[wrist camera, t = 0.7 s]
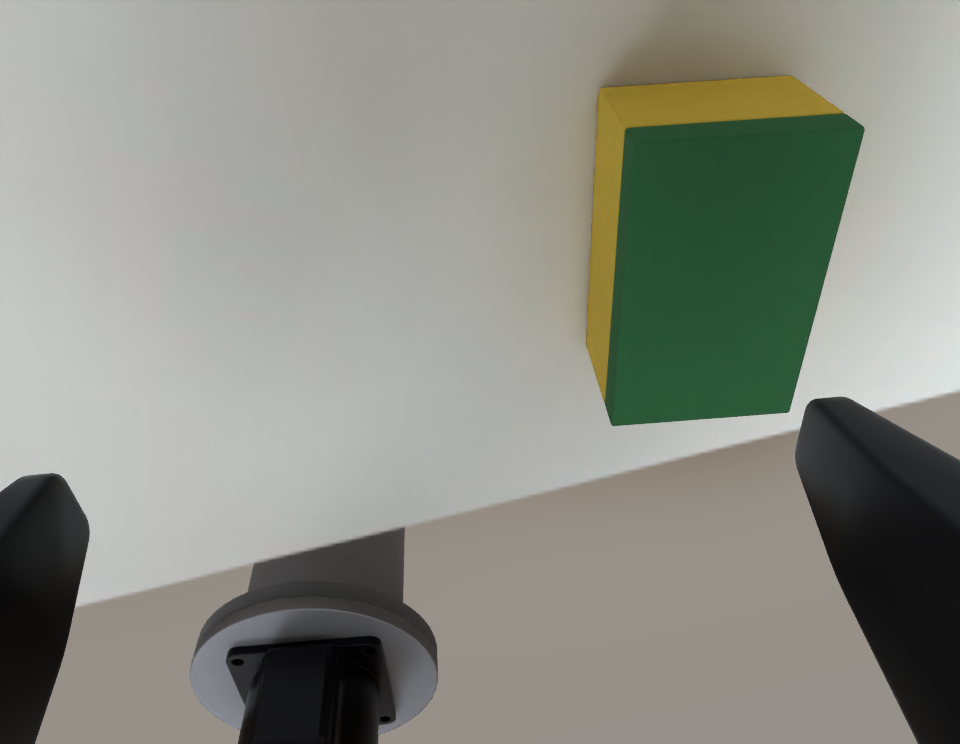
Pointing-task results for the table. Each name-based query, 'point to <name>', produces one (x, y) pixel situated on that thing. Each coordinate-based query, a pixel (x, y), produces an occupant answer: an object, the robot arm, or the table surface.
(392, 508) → the table surface
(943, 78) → the table surface
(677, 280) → the sponge
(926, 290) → the table surface
